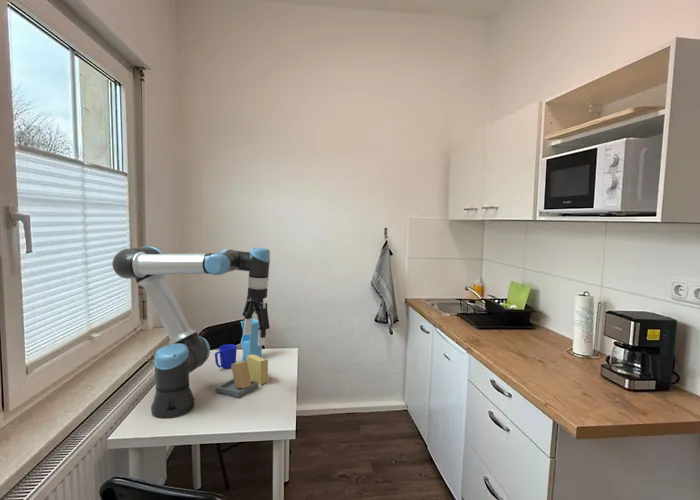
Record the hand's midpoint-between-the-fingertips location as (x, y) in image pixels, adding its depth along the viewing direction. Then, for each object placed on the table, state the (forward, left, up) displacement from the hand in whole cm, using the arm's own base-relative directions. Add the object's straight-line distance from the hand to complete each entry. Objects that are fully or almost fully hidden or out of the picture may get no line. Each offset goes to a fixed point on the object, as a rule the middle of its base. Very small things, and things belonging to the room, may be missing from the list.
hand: (254, 339), depth 165 cm
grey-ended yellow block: (+15, +11, -24) cm, 30 cm away
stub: (+3, +8, -22) cm, 23 cm away
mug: (+20, +34, -24) cm, 46 cm away
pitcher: (+35, +30, -24) cm, 52 cm away
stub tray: (+2, +11, -24) cm, 26 cm away
